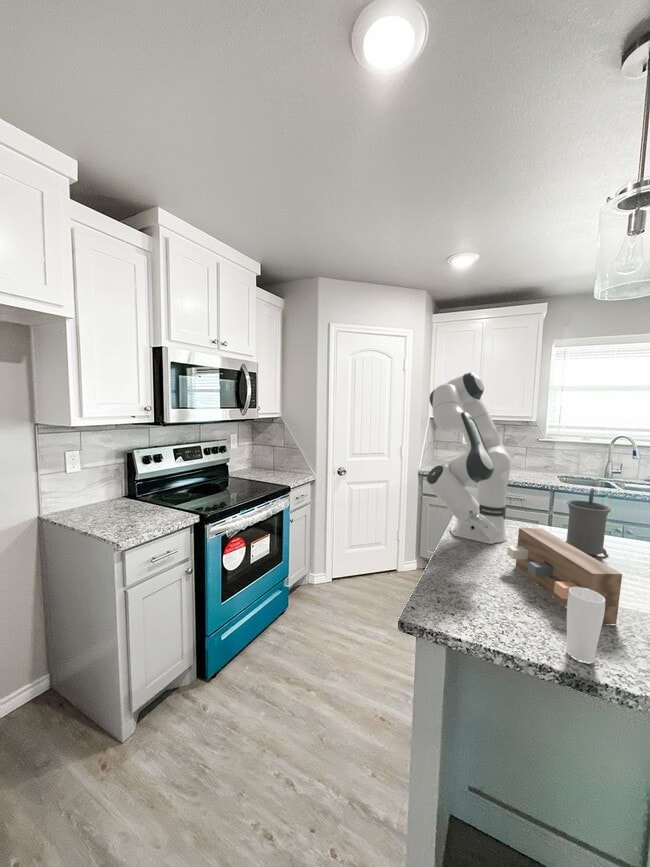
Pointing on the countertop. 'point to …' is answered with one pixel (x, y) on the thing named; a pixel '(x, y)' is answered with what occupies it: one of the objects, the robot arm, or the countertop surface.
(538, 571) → the charcoal key
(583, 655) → the drinking glass
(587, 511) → the grey footed pot
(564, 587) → the terracotta key
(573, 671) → the countertop surface
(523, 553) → the cream key
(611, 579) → the console
